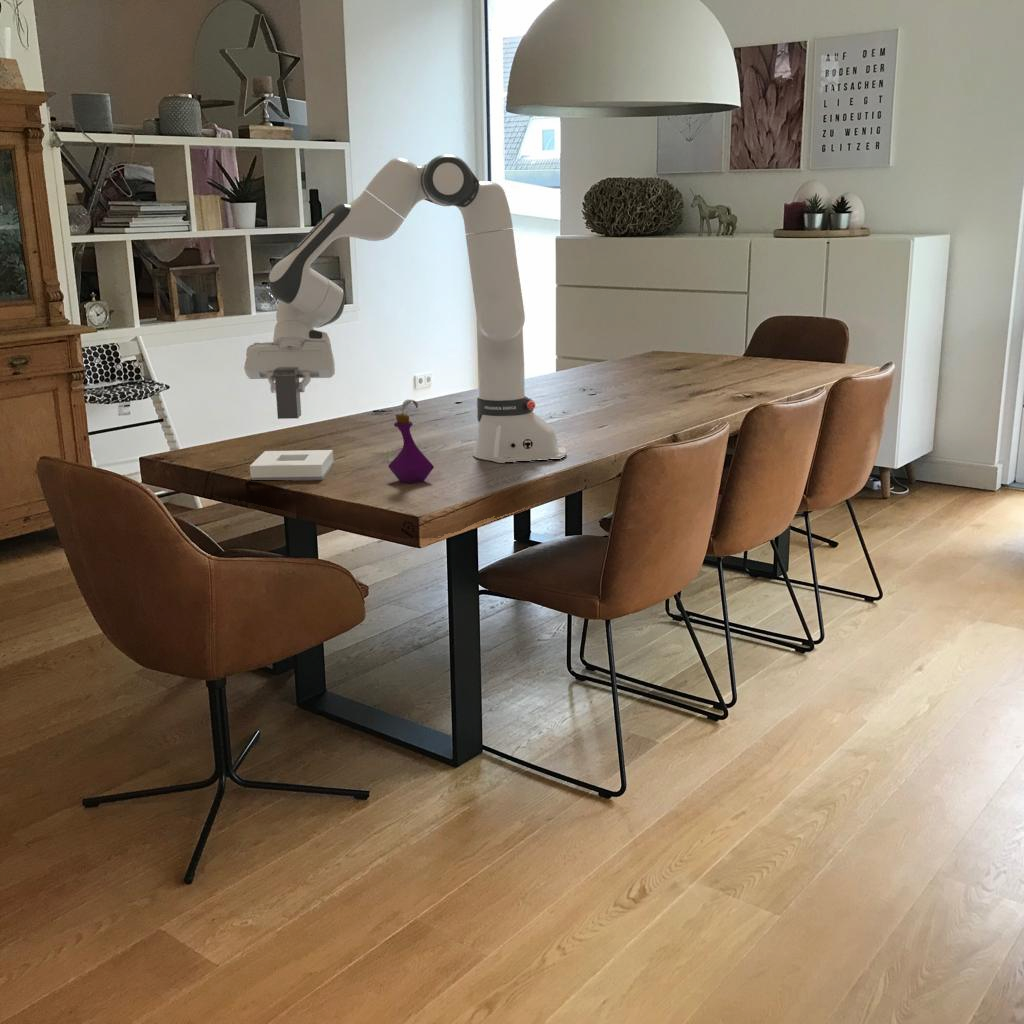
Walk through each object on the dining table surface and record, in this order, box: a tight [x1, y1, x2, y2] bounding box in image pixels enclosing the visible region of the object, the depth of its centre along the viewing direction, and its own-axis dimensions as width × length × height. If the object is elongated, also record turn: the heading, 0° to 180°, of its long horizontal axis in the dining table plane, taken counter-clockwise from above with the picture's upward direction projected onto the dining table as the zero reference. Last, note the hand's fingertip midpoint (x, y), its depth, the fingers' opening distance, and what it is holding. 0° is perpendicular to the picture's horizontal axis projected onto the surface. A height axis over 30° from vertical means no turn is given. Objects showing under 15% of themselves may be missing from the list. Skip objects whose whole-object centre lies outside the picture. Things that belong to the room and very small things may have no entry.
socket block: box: [249, 449, 334, 482], centre depth 261 cm, size 16×16×4 cm
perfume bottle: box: [387, 399, 435, 484], centre depth 250 cm, size 8×8×18 cm
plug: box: [274, 367, 302, 420], centre depth 257 cm, size 4×4×11 cm
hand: (287, 391), depth 256 cm, fingers closed on plug, 4 cm apart
